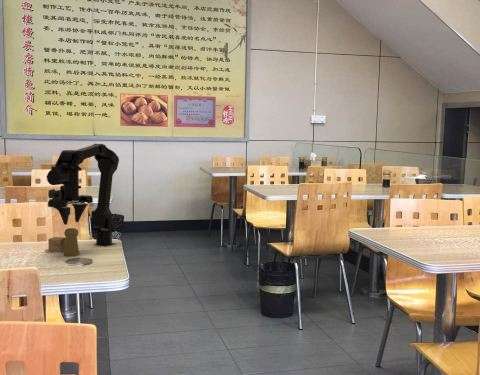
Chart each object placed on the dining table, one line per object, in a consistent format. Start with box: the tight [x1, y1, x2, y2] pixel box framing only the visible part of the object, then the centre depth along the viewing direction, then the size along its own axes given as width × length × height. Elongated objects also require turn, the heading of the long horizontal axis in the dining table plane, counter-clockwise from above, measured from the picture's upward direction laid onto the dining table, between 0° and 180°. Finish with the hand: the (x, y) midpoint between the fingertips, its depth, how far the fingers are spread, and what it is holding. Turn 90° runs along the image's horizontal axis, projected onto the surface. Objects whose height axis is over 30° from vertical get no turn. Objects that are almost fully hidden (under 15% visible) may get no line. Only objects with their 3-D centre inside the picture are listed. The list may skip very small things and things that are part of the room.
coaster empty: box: [64, 257, 94, 267], centre depth 197 cm, size 10×10×1 cm
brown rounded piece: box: [63, 227, 80, 258], centre depth 206 cm, size 6×6×11 cm
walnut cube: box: [47, 236, 66, 252], centre depth 213 cm, size 5×5×5 cm
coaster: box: [43, 248, 64, 255], centre depth 213 cm, size 10×10×1 cm
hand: (71, 223), depth 205 cm, fingers open, 6 cm apart
